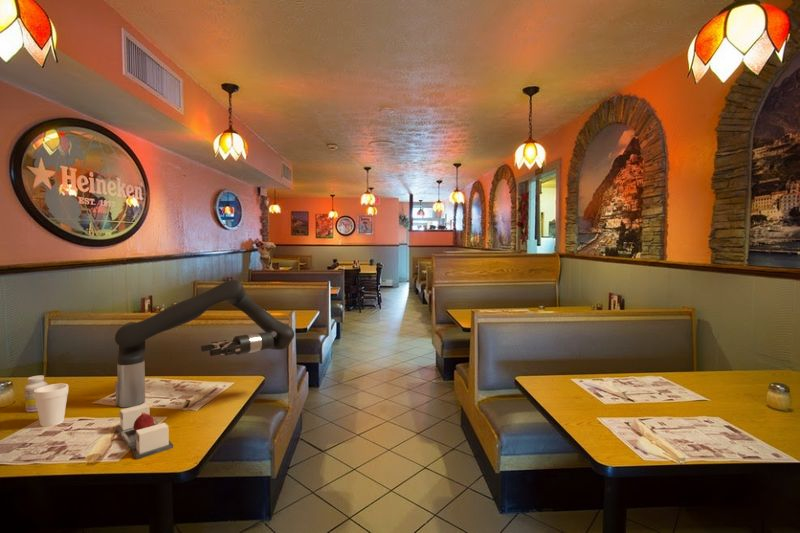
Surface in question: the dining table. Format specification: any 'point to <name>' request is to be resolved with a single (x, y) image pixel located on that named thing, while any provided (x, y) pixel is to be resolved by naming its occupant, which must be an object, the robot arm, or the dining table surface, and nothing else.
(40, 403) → the foam cup
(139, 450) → the mounted modules
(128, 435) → the mounting plate
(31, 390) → the supplement bottle
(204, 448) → the dining table surface
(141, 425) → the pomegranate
